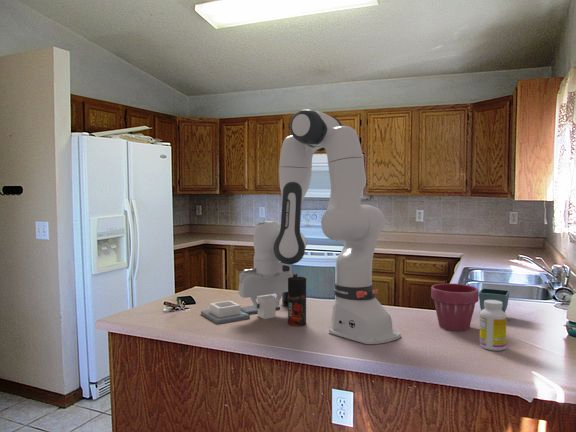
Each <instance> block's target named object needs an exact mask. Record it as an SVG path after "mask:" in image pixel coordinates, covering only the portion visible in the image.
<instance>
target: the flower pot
mask: <svg viewBox="0 0 576 432" xmlns="http://www.w3.org/2000/svg"><path fill="white" fill-rule="evenodd" d="M478 293H479V300H478V302H479V307H480V312H481V311H482V310H483V309H485V306H484V301H485V300H497V301H501V302H502V303H503V307H502V311H504V312H505V313H506V311H507V308H508V305H509V300H510V290H507V289H505V290H504V289H495V288H485V287H484V288H483V287H482V288H481V289H480V290H479V291H478Z"/></svg>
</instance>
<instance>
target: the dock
mask: <svg viewBox="0 0 576 432" xmlns="http://www.w3.org/2000/svg"><path fill="white" fill-rule="evenodd" d="M240 308H241V305H240V304H239V303H237V302H235V301H232V300H225V301H218V302H211V303H209V309H206V310H205V309H203V310H200V315H202V316H203V317H205V318H207V319H208V320H210V321H211V322H213V323H214V324H216V325H219V324H225V323H226V324H227V323H232V322H237V321H243V320H249V319H251V318H250V315H251V314H247V313H245V312H243V311H241V310H240Z"/></svg>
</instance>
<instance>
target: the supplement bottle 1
mask: <svg viewBox="0 0 576 432" xmlns="http://www.w3.org/2000/svg"><path fill="white" fill-rule="evenodd" d="M291 273H292V275H293V277H299V276H298V275H299V274H298V273H296V272H291ZM281 304H282V305H283V306H284V307H288V292H283V293H282V297H281Z"/></svg>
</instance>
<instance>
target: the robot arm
mask: <svg viewBox="0 0 576 432" xmlns="http://www.w3.org/2000/svg"><path fill="white" fill-rule="evenodd" d="M289 130H290V134H291V135H288V136H286V137H285V138H284V140H283V142H282V144H281V145H282V146H281V150H280V155H279V162H278V163H279V165H278V179H279V180H278V181H279V187H280V194H281V195H280V196H281V213H280V214H281V215H280V223H279V221H278V220H275V219H271V220H265V221H260V222H258V223H257V224H256V225H255V227H254V230H253V231H254V232H253V249H254V255H253V268H250V269H243V270H242V271H240V273H239V274H238V275H239V276H238V280H239V284H238V295H239V296H240V297H242V298H243V299H247V298H250V300H251V302H252V303H253V306H254V309H259V308H260V307H259V306H260V304H259V303H258V301H257V300H258V296H263V295H276V296H275V306H279V307H280V301H281V300H282V293H283V292H288V278H289V277H293V275H292V273H293V272H292V271H293V266H292V265H294V264H297V263H299V262H300V261H301V260H302V259H303V258H304V255H305V253H306V252H305V251H306V247H307V239H306V237H305V235H304V234H303V233H302V232H301V219H302V218H301V217H302V205H303V202H304V199H305V196H306V194H307V193H308V190H309V188H310V184H311V179H312V172H313V171H312V167H313V155H315V153H316V151H317V152H319V153H320V152H323V151H325V153H326V157H327V165H328V173H329V183H330V196H329V202H328V205H327V209H326V210H325V212H324V213H323V215H322V217H321V221H320V226H321V230H322V233H323V234H324V236H325V237H327V238H328V239H329V240H332V241H336V242H344V243H343V247H342V250H341V252H340V253H339V254H338V256H337V257H336V260H335V263H336V265H335V266H336V267H335V268H336V270H335V280H336V281H335V283H334V287H333V290H334V295H335V300H334V303H333V305H332V314H331V325H330V328H329V329H328V333H329V334H331V335H334V336H338V337H341V338H345V339H348V340H350V341H351V340H352V341H356V342H357V343H361V344H365V345H377V344H385V343H390V342H393V341H396V340H398V339H399V338H400V337H401V335H402V334H401V332H399V331H397V330H395V329H394V328H393V321H392V316H391V313H389V312H388V311H387V309H385V308H384V306H383V305H382V303H381V302H380V301H379V300H378V299H377V298H376V297H377V295H376V294H378V293H379V292H378V291H379V289H375V287H374V284H373V281H372V278H373V258H374V254H375V249H376V246H377V241H378V238H379V235H380V234H381V233H382V231H383V230H384V228H385V225H386V219H385V218H386V217H385V215H384V213H383V211H382V210H381V209H380V208H378V207H376V206H373V205H370V204H367V203H366V204H361V201H362V200H361V199H362V193H363V190H364V189H365V187H366V186H367V176H366V168H365V163H364V155H363V151H362V146H361V143H360V139H359V135H358V134H357V131H356V130H355V129H354V128H353V127H351V126H348V125H344V124H342V122H341V121H340V120H339V119H337V118H336V117H335V116H331V115H328V114H327V113H324V112H321V111H317V110H313V109H302V110H299V111H297V112H295V114H294V115H293V116H292V117H291V120H290V122H289Z"/></svg>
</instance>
